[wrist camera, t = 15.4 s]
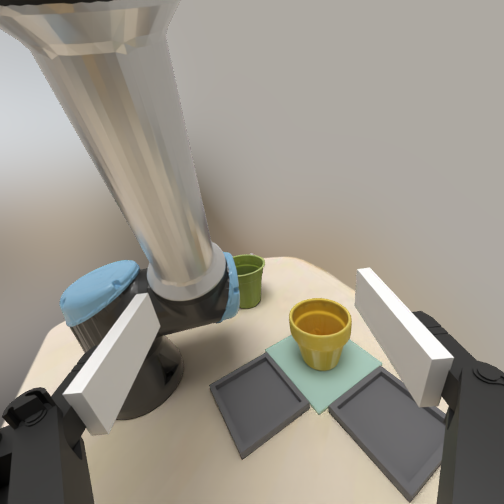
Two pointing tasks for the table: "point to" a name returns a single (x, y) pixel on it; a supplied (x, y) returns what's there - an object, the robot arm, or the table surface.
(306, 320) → the plant pot
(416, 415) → the tray
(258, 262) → the plant pot
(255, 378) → the tray
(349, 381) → the pad
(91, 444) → the table surface
